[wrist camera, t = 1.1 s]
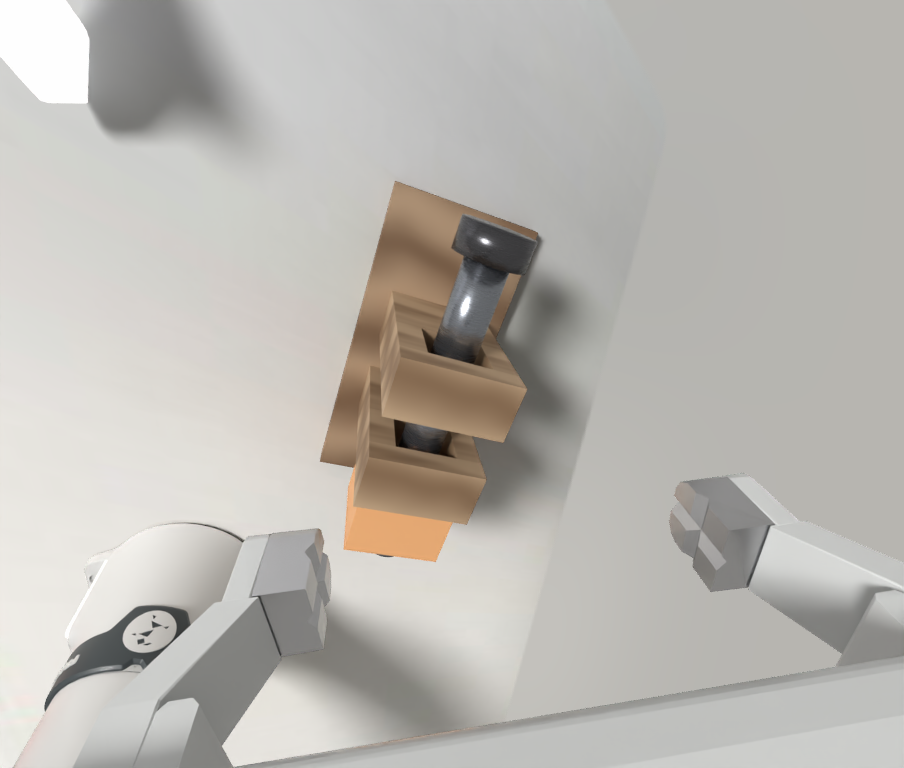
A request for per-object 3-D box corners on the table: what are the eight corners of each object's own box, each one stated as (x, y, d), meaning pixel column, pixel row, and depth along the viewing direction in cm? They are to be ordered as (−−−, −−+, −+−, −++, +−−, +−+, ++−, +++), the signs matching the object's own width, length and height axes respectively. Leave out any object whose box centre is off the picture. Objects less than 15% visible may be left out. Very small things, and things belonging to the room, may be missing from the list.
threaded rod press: (436, 475, 49) (460, 596, 36) (321, 454, 46) (300, 578, 33) (533, 230, 39) (615, 273, 26) (395, 180, 36) (407, 201, 23)
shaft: (411, 525, 41) (415, 569, 36) (356, 517, 39) (353, 562, 35) (524, 234, 31) (548, 248, 27) (456, 209, 29) (470, 220, 25)
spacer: (426, 500, 42) (435, 561, 36) (348, 487, 40) (343, 549, 34) (440, 464, 40) (452, 522, 34) (360, 448, 38) (357, 506, 32)
